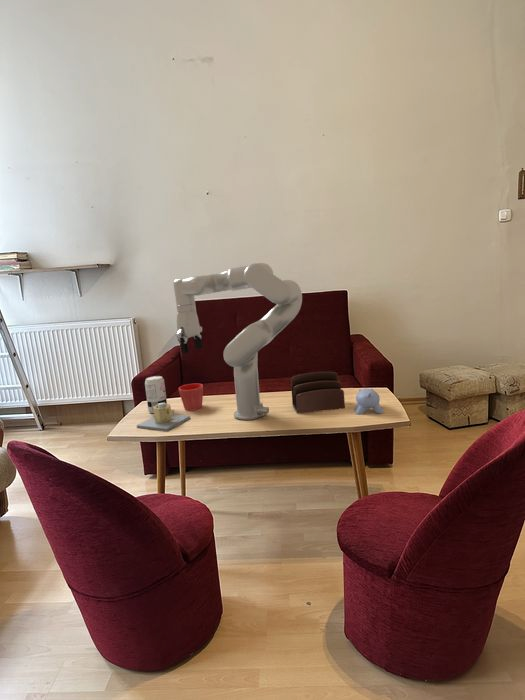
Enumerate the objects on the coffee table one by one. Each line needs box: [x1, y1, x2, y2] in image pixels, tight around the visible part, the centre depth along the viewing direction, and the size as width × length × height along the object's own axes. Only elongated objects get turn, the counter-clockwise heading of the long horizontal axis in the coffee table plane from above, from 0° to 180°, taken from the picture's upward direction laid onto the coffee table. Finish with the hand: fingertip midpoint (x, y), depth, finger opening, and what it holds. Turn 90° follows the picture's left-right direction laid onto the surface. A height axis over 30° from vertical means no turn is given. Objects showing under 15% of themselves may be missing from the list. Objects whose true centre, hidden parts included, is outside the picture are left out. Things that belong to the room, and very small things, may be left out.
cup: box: [153, 403, 175, 424], centre depth 180 cm, size 9×7×6 cm
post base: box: [136, 403, 191, 432], centre depth 181 cm, size 15×15×8 cm
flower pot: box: [178, 383, 204, 411], centre depth 198 cm, size 11×11×10 cm
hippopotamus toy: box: [353, 388, 385, 415], centre depth 177 cm, size 11×15×10 cm
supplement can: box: [144, 375, 168, 414], centre depth 196 cm, size 8×8×15 cm
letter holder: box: [290, 371, 346, 414], centre depth 184 cm, size 10×20×14 cm, turn 97°
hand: (192, 350), depth 185 cm, fingers open, 9 cm apart
